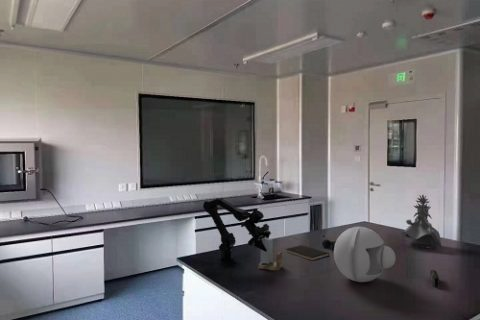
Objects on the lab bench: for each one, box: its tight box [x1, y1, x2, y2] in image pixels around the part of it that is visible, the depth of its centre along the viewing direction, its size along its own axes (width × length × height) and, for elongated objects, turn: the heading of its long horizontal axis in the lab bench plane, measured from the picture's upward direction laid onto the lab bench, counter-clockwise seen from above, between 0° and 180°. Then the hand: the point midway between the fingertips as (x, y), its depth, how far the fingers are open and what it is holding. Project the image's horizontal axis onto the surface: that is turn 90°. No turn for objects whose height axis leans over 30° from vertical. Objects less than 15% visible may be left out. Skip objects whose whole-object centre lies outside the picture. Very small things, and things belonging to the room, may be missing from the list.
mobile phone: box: [429, 269, 440, 290], centre depth 179 cm, size 5×3×15 cm
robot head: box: [333, 226, 397, 283], centre depth 183 cm, size 28×30×28 cm
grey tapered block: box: [260, 237, 274, 264], centre depth 206 cm, size 5×6×13 cm
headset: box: [321, 234, 336, 252], centre depth 241 cm, size 13×9×19 cm
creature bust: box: [401, 194, 442, 249], centre depth 244 cm, size 24×23×35 cm
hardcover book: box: [285, 244, 330, 261], centre depth 231 cm, size 16×23×2 cm
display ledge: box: [257, 250, 283, 272], centre depth 205 cm, size 12×8×9 cm, turn 69°
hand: (268, 249), depth 205 cm, fingers closed on grey tapered block, 5 cm apart
